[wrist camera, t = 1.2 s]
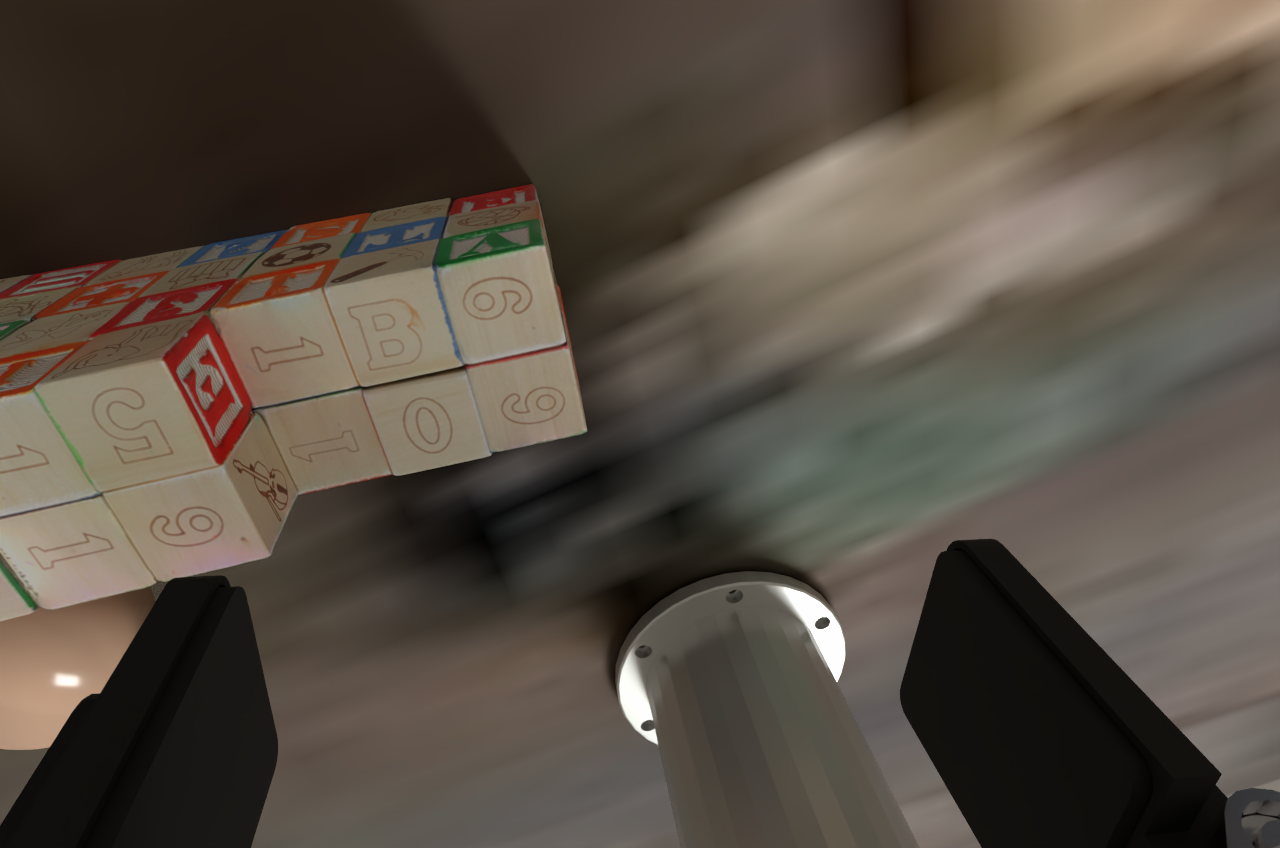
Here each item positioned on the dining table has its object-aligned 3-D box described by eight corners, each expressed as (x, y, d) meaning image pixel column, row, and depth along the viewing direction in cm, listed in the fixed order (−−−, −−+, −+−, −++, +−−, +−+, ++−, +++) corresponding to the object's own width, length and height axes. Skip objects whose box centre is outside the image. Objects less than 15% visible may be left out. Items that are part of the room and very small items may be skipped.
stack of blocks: (536, 176, 29) (558, 277, 18) (568, 329, 32) (604, 493, 21) (-57, 288, 27) (-410, 469, 17) (37, 438, 31) (-210, 671, 20)
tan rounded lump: (178, 646, 36) (135, 733, 32) (17, 669, 35) (-50, 762, 31) (121, 525, 33) (64, 605, 28) (-58, 548, 32) (-145, 634, 28)
